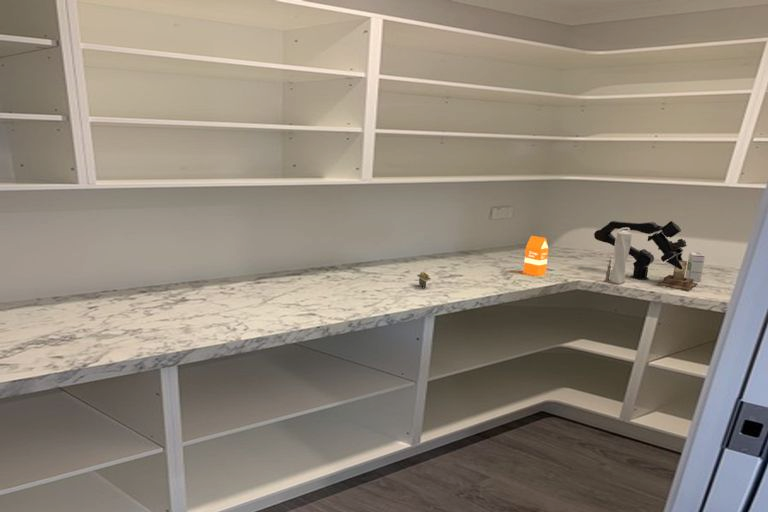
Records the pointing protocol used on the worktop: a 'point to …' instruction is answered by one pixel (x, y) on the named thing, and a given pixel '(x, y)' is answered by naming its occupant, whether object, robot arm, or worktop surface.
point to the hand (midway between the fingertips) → (683, 268)
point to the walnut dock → (677, 283)
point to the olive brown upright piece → (423, 279)
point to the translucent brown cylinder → (680, 271)
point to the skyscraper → (619, 257)
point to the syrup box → (695, 266)
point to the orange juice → (536, 256)
